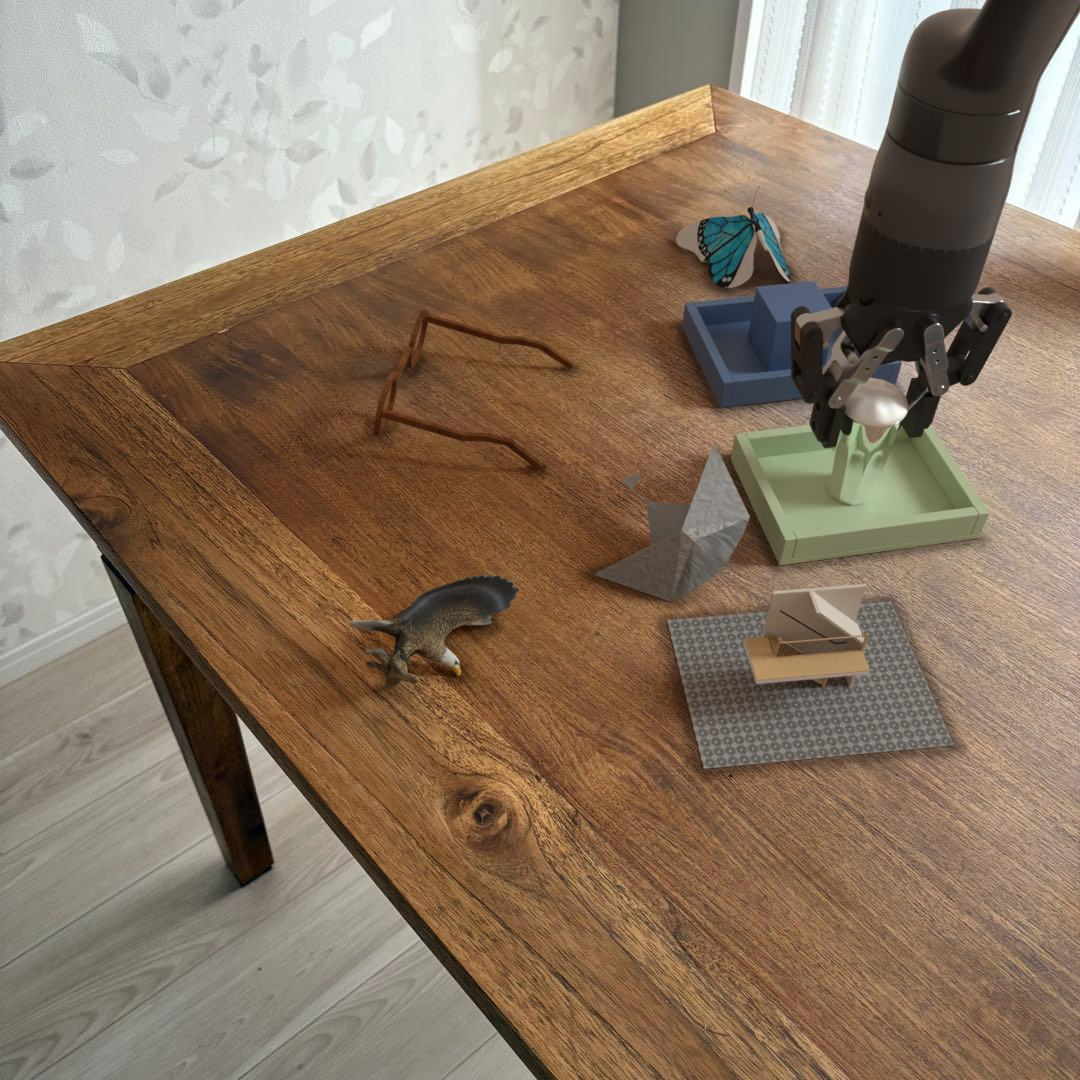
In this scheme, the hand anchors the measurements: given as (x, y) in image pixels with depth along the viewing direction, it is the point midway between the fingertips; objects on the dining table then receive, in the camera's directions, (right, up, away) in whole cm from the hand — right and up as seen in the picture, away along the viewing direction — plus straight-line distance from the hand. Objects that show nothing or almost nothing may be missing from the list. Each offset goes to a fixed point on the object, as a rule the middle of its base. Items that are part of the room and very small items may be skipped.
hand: (867, 434), depth 76 cm
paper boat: (-13, -8, +1) cm, 16 cm away
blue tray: (-2, +8, +16) cm, 18 cm away
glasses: (-27, +3, +11) cm, 30 cm away
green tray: (0, -4, +4) cm, 6 cm away
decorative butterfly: (-4, +18, +26) cm, 32 cm away
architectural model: (-6, -16, -7) cm, 19 cm away
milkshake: (0, -4, +4) cm, 6 cm away
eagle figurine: (-29, -15, -6) cm, 33 cm away
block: (-2, +8, +16) cm, 18 cm away
